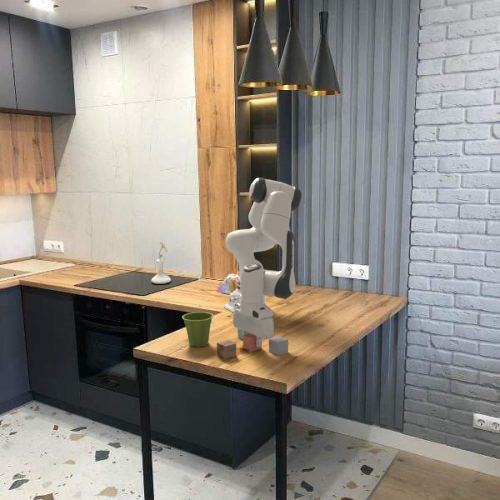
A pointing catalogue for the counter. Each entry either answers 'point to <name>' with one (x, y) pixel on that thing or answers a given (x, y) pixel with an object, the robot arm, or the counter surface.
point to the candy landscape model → (229, 284)
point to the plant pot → (198, 327)
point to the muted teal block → (240, 334)
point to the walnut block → (226, 349)
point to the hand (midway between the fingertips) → (252, 344)
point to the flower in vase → (161, 270)
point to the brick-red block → (250, 342)
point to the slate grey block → (278, 345)
